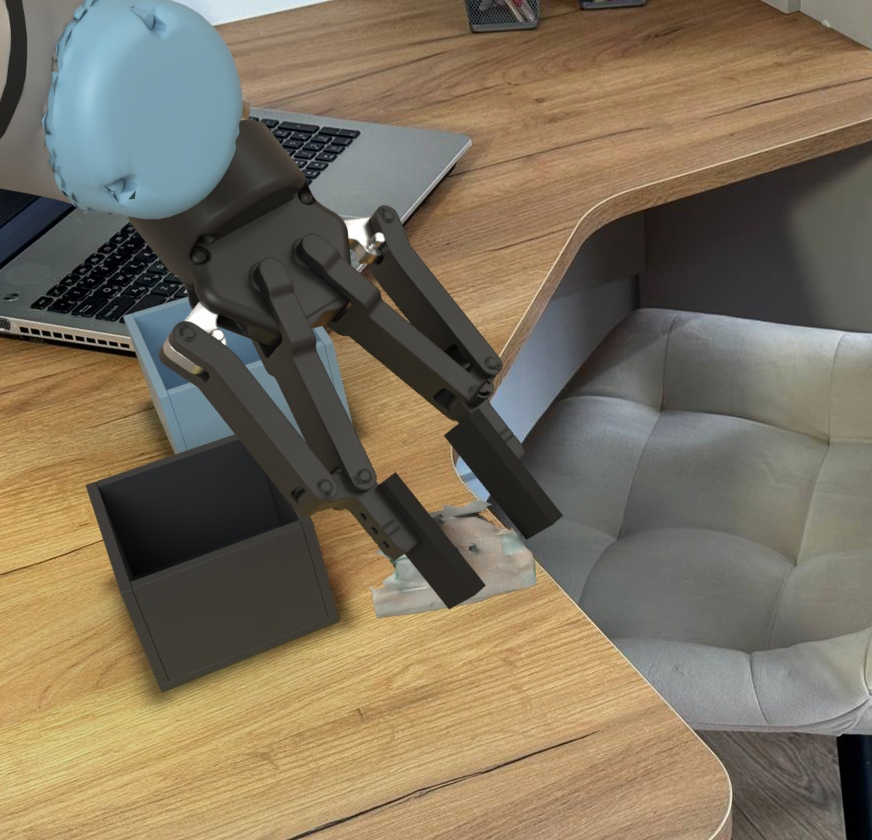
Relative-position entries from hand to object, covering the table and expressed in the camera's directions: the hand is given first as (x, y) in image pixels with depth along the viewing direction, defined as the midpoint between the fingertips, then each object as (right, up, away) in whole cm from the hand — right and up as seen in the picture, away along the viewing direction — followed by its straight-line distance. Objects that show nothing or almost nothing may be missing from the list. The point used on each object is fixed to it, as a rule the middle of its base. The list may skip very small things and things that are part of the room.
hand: (506, 560), depth 61 cm
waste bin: (-18, -4, +15) cm, 24 cm away
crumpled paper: (-3, -2, +4) cm, 5 cm away
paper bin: (-21, +7, +30) cm, 37 cm away
